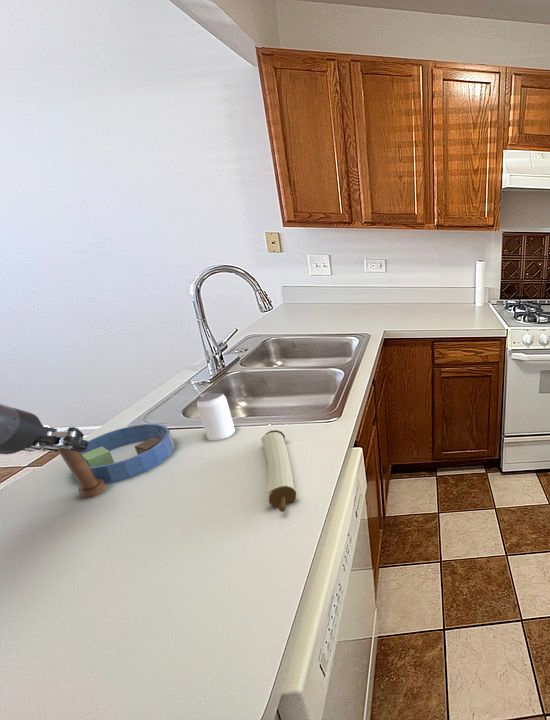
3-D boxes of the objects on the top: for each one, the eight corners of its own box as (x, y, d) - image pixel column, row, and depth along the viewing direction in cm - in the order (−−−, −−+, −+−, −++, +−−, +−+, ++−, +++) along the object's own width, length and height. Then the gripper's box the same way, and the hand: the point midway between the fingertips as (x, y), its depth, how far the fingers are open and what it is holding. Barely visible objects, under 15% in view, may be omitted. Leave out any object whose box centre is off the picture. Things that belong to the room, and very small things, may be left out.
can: (233, 426, 110) (222, 387, 106) (237, 436, 105) (226, 396, 101) (205, 434, 106) (193, 394, 102) (209, 445, 102) (196, 403, 97)
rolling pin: (300, 515, 79) (296, 495, 77) (269, 525, 76) (263, 504, 75) (286, 437, 105) (283, 420, 103) (263, 442, 103) (259, 426, 101)
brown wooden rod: (78, 501, 82) (41, 445, 75) (87, 487, 86) (52, 433, 79) (102, 496, 84) (68, 441, 77) (110, 483, 87) (78, 429, 80)
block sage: (93, 474, 90) (87, 460, 88) (86, 469, 92) (79, 454, 90) (115, 465, 93) (109, 451, 91) (108, 460, 95) (102, 446, 93)
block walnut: (151, 463, 94) (146, 449, 92) (139, 460, 95) (134, 446, 93) (168, 453, 97) (163, 439, 96) (156, 451, 98) (151, 437, 97)
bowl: (55, 493, 85) (46, 474, 83) (106, 446, 101) (98, 429, 99) (154, 479, 89) (147, 460, 87) (187, 436, 106) (181, 419, 104)
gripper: (45, 401, 68) (119, 426, 83) (-51, 408, 66) (43, 432, 81) (31, 445, 65) (110, 462, 81) (-70, 453, 63) (31, 469, 79)
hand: (76, 447), depth 81 cm, fingers closed on brown wooden rod, 2 cm apart
